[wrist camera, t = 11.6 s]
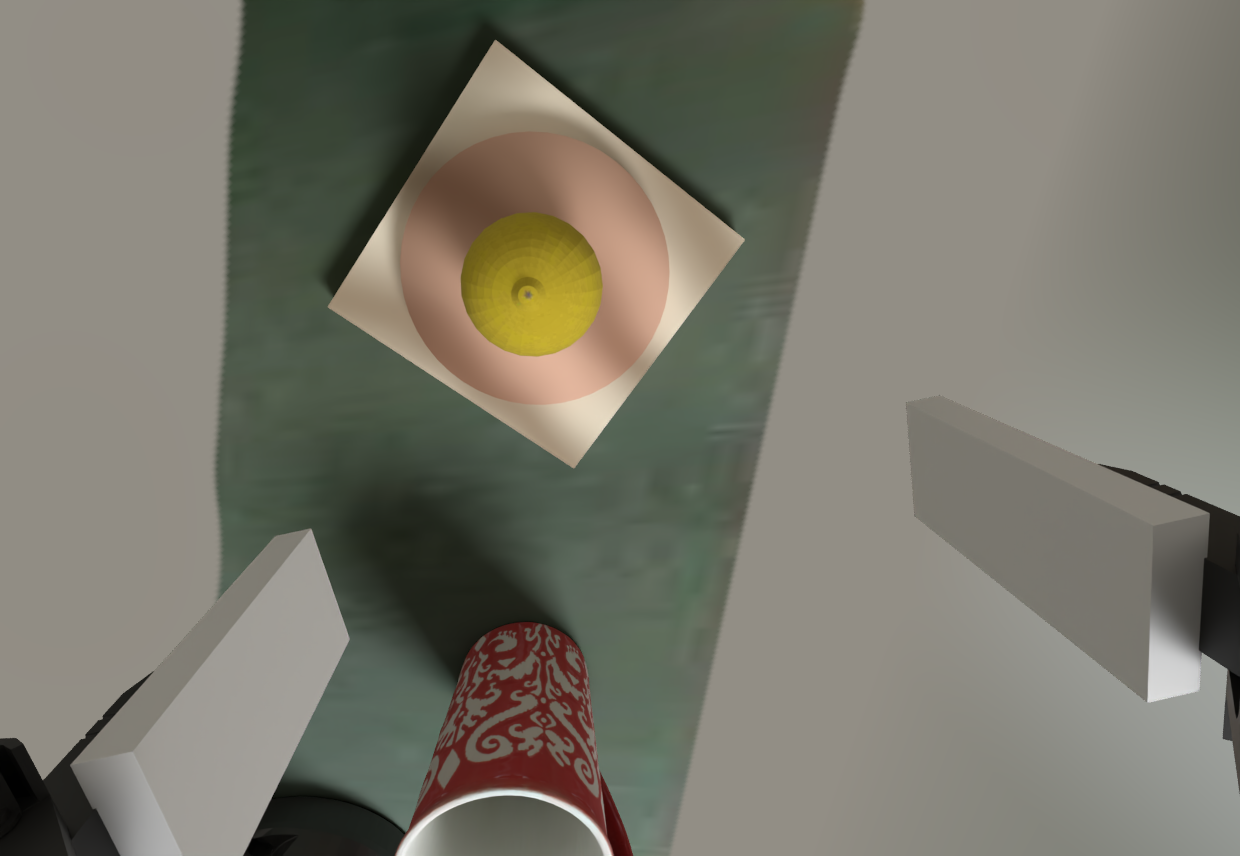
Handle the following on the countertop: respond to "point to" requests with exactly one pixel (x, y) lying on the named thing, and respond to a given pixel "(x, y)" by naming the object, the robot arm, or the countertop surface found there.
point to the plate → (549, 184)
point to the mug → (517, 757)
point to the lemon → (531, 284)
